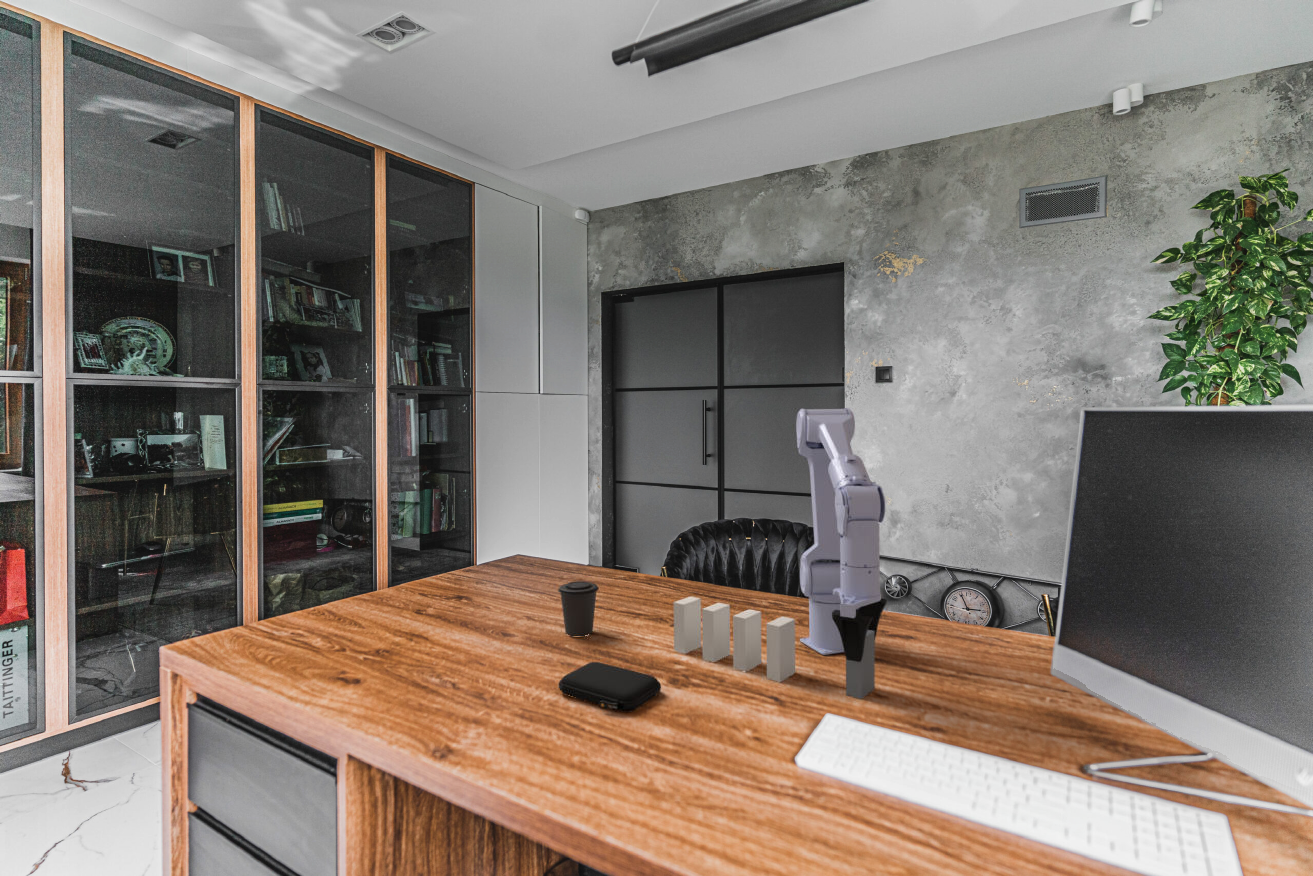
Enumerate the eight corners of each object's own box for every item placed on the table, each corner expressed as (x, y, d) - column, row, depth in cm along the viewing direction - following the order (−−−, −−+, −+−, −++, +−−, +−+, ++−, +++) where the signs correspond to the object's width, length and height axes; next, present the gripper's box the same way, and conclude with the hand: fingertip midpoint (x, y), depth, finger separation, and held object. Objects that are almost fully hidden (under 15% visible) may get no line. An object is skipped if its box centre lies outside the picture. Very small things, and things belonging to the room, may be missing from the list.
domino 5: (874, 688, 97) (874, 631, 97) (861, 699, 94) (861, 639, 94) (859, 684, 99) (859, 627, 99) (846, 695, 95) (845, 636, 95)
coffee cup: (550, 637, 123) (550, 586, 123) (571, 624, 131) (570, 576, 130) (587, 642, 120) (586, 590, 120) (606, 629, 128) (605, 580, 127)
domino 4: (795, 673, 104) (794, 619, 104) (779, 682, 100) (779, 626, 100) (782, 669, 106) (782, 616, 105) (766, 678, 102) (766, 623, 102)
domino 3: (761, 663, 108) (761, 611, 108) (745, 672, 104) (745, 618, 104) (749, 660, 110) (749, 609, 110) (733, 668, 106) (732, 615, 106)
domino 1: (701, 646, 117) (700, 598, 117) (684, 654, 113) (683, 604, 113) (691, 643, 118) (690, 596, 118) (674, 651, 115) (673, 602, 114)
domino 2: (730, 654, 113) (729, 604, 112) (713, 663, 109) (713, 611, 109) (719, 651, 114) (718, 602, 114) (702, 659, 110) (702, 608, 110)
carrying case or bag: (547, 698, 96) (625, 723, 88) (547, 679, 96) (625, 701, 88) (591, 674, 105) (666, 694, 97) (591, 656, 105) (666, 675, 97)
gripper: (846, 553, 104) (846, 634, 104) (819, 570, 92) (820, 662, 92) (890, 557, 101) (891, 641, 101) (868, 575, 88) (869, 671, 88)
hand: (860, 652), depth 96 cm, fingers open, 7 cm apart
